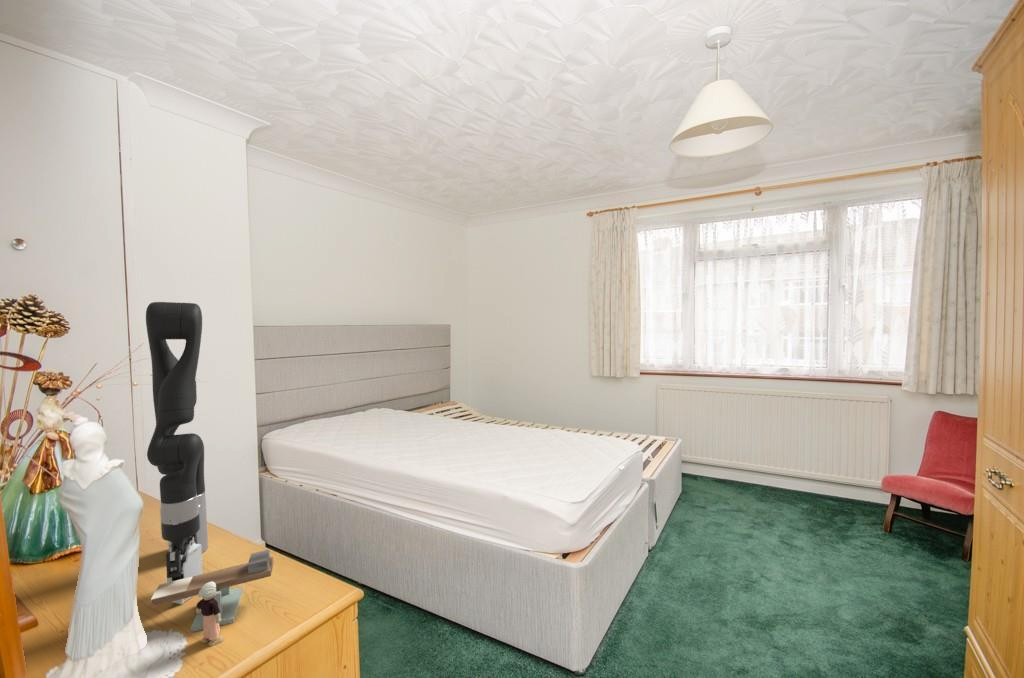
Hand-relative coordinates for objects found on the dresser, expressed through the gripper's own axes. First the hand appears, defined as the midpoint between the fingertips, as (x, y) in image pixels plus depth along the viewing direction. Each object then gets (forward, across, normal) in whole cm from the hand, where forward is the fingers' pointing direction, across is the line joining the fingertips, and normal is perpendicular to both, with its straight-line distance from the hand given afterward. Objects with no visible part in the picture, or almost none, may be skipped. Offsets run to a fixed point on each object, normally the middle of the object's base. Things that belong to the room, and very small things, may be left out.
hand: (184, 577), depth 110 cm
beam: (-2, +9, +9) cm, 13 cm away
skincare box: (+5, 0, 0) cm, 5 cm away
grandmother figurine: (+4, +19, +10) cm, 22 cm away
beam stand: (+4, +9, +9) cm, 14 cm away
